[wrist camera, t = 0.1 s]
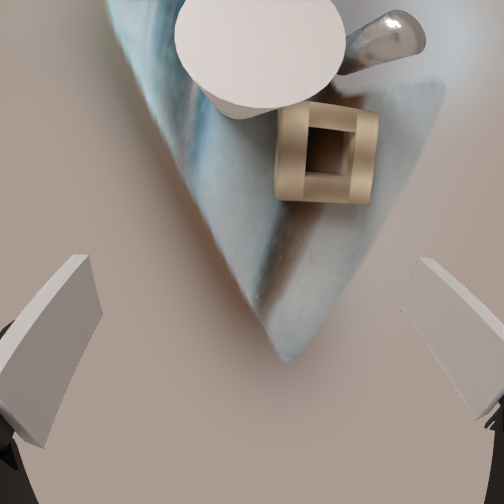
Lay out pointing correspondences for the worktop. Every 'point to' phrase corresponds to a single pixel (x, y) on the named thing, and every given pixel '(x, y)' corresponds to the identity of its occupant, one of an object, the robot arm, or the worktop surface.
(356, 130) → the socket block
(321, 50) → the cylindrical container
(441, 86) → the worktop surface
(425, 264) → the robot arm
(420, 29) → the peg
